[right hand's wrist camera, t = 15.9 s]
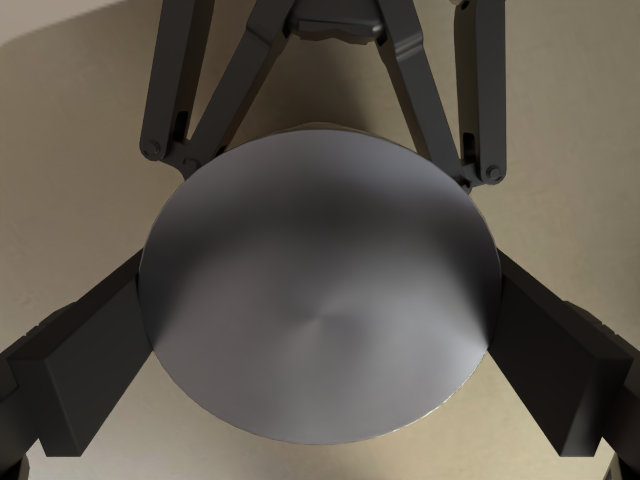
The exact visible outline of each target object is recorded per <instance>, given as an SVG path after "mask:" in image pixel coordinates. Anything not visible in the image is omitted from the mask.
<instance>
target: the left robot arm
mask: <svg viewBox="0 0 640 480" xmlns="http://www.w3.org/2000/svg"><path fill="white" fill-rule="evenodd" d="M449 1H450V2H451V3H452V4H454V5H456V9H455V16H454V45H455V63H456V80H457V98H458V116H459V133H460V151H461V159H459V156H458V153H457V150H456V147H455V144H454V141H453V138H452V135H451V132H450V129H449V125H448V122H447V119H446V116H445V113H444V110H443V107H442V104H441V101H440V97H439V94H438V91H437V88H436V85H435V82H434V79H433V76H432V73H431V70H430V66H429V63H428V60H427V57H426V54H425V51H424V47H423V33H422V29H421V26H420V23H419V19H418V16H417V13H416V10H415V7H414V4H413V1H412V0H257V2H256V4H255V6H254V8H253V10H252V12H251V14H250V16H249V18H248V21H247V25H246V30H245V33H244V35H243V37H242V39H241V41H240V43H239V45H238V47H237V49H236V51H235V53H234V55H233V57H232V59H231V61H230V63H229V65H228V67H227V69H226V71H225V73H224V75H223V77H222V79H221V81H220V83H219V84H218V86H217V88H216V90H215V92H214V94H213V96H212V98H211V100H210V102H209V104H208V106H207V108H206V110H205V112H204V114H203V116H202V118H201V120H200V122H199V124H198V126H197V128H196V130H195V132H194V134H193V136H192V138H191V139H190V140H188V139H186V138H187V133H188V128H189V124H190V119H191V114H192V109H193V105H194V100H195V95H196V91H197V86H198V81H199V77H200V72H201V67H202V62H203V58H204V53H205V48H206V44H207V39H208V34H209V29H210V25H211V20H212V15H213V9H214V3H215V0H163V5H162V11H161V17H160V23H159V29H158V35H157V41H156V47H155V53H154V59H153V65H152V71H151V77H150V83H149V89H148V95H147V101H146V107H145V113H144V119H143V125H142V131H141V137H140V143H139V144H140V151H141V153H142V154H143V156H144V157H145V158H147V159H149V160H150V161H158V160H159V161H161V162H163V163H166V164H168V165H171V166H173V167H175V168H177V169H178V170H179V171H180V172H181V173H182V175H183V177H184V180H185V181H186V180H187V179H188V178H189V177H190V176H191V175H193V174H194V173H195V172H196V171H197V170H198V169H199V168H201V167H202V166H204V165H205V164H207V163H208V162H210V161H212V160H213V159H215V158H216V157H218V156H219V155H221V154H222V153H225V151H226V149H227V147H228V146H229V144H230V142H231V140H232V138H233V137H234V135H235V133H236V131H237V129H238V128H239V126H240V124H241V122H242V120H243V118H244V117H245V115H246V113H247V111H248V109H249V108H250V106H251V104H252V102H253V100H254V98H255V97H256V95H257V93H258V91H259V89H260V88H261V86H262V84H263V82H264V80H265V79H266V77H267V75H268V73H269V71H270V69H271V68H272V66H273V64H274V62H275V60H276V59H277V57H278V56H279V55H280V54H281V52H282V51H283V49H284V47H285V46H286V44H287V42H288V40H289V38H290V37H291V35H292V33H293V34H295V35H297V36H299V37H300V39H301V40H311V41H319V40H323V39H328V38H332V37H334V38H337V39H340V40H342V41H345V42H347V43H350V44H360V45H366V44H367V43H368V42H371V41H375V44H376V46H377V49H378V52H379V55H380V57H381V59H382V61H383V63H384V64H385V66H386V68H387V70H388V73H389V76H390V79H391V81H392V84H393V87H394V90H395V92H396V95H397V98H398V101H399V103H400V106H401V109H402V112H403V114H404V117H405V120H406V123H407V125H408V128H409V131H410V134H411V136H412V139H413V142H414V145H415V147H416V150H417V153H418V154H419V155H421V156H422V157H424V158H426V159H427V160H429V161H431V162H432V163H434V164H435V165H437V166H438V167H439V168H440V169H441V170H443V171H444V172H445V173H446V174H448V175H449V176H450V177H451V178H453V179H454V180H455V181H456V182H457V183H458V184H459V186H460V187H461V188H462V189H463V190H464V191H465V192H466V193H467V194H468V195H469V193H470V192H471V190H472V187H476V186H480V185H483V184H488V185H495V184H498V183H500V182H501V181H502V180H503V179H504V177H505V175H506V69H505V0H449Z"/></svg>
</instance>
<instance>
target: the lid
mask: <svg viewBox="0 0 640 480" xmlns="http://www.w3.org/2000/svg"><path fill="white" fill-rule="evenodd" d="M138 295H139V304H140V310H141V314H142V319H143V323H144V327H145V332H146V334H147V337H148V339H149V342H150V344H151V347H152V349H153V351H154V352H155V354H156V356H157V358H158V359H159V361H160V363H161V365H162V366H163V368H164V369H165V370H166V371H167V373H168V374H169V375H170V377H171V378H172V379H173V381H174V382H175V383H176V384H177V385H178V386H179V387H180V388H181V389H182V390H183V391H184V392H185V393H186V394H187V395H188V396H189V397H190V398H191V399H193V400H194V401H195V402H196V403H197V404H199V405H200V406H201V407H202V408H204V409H205V410H207V411H208V412H210V413H211V414H213V415H215V416H216V417H218V418H219V419H221V420H223V421H225V422H227V423H229V424H231V425H233V426H235V427H237V428H239V429H242V430H245V431H247V432H250V433H252V434H255V435H258V436H262V437H266V438H269V439H273V440H278V441H283V442H289V443H296V444H309V445H334V444H343V443H352V442H357V441H362V440H367V439H372V438H375V437H378V436H381V435H385V434H388V433H391V432H393V431H396V430H398V429H401V428H403V427H405V426H408V425H410V424H412V423H413V422H415V421H417V420H419V419H421V418H423V417H424V416H426V415H428V414H429V413H430V412H432V411H433V410H435V409H436V408H438V407H439V406H440V405H442V404H443V403H444V402H445V401H447V400H448V399H449V398H450V397H451V396H452V395H453V394H455V393H456V392H457V391H458V390H459V389H460V387H461V386H462V385H463V384H464V383H465V382H466V381H467V380H468V379H469V377H470V376H471V375H472V373H473V372H474V370H475V369H476V368H477V366H478V365H479V363H480V362H481V360H482V359H483V357H484V355H485V353H486V351H487V349H488V347H489V345H490V343H491V340H492V338H493V335H494V332H495V328H496V325H497V320H498V315H499V311H500V306H501V300H502V276H501V267H500V260H499V256H498V252H497V249H496V245H495V242H494V239H493V236H492V234H491V232H490V230H489V228H488V225H487V223H486V221H485V219H484V217H483V216H482V214H481V213H480V211H479V210H478V208H477V207H476V205H475V203H474V202H473V200H472V199H471V198H470V197H469V196H468V194H467V193H466V192H465V191H464V190H463V189H462V188H461V187H460V186H459V184H458V183H457V182H456V181H455V180H454V179H453V178H451V177H450V176H449V175H448V174H446V173H445V172H444V171H443V170H441V169H440V168H439V167H438V166H437V165H435V164H434V163H432V162H431V161H429V160H427V159H426V158H424V157H422V156H421V155H419V154H417V153H416V152H414V151H412V150H410V149H408V148H406V147H404V146H402V145H400V144H398V143H396V142H393V141H391V140H388V139H386V138H384V137H381V136H379V135H376V134H373V133H369V132H365V131H362V130H358V129H354V128H347V127H339V126H330V125H320V126H300V127H294V128H288V129H282V130H278V131H274V132H271V133H268V134H265V135H262V136H258V137H256V138H254V139H252V140H250V141H247V142H245V143H243V144H241V145H239V146H237V147H235V148H233V149H231V150H229V151H227V152H225V153H222V154H221V155H219V156H218V157H216V158H215V159H213V160H212V161H210V162H208V163H207V164H205V165H204V166H202V167H201V168H199V169H198V170H197V171H196V172H195V173H194V174H193V175H191V176H190V177H189V178H188V179H187V180H186V181H185V182H184V183H183V184H181V185H180V186H179V188H178V189H177V190H176V191H175V193H174V194H173V195H172V196H171V197H170V199H169V200H168V201H167V202H166V203H165V205H164V206H163V208H162V210H161V211H160V213H159V215H158V217H157V218H156V220H155V222H154V223H153V225H152V227H151V230H150V233H149V235H148V238H147V240H146V243H145V245H144V249H143V253H142V258H141V262H140V267H139V281H138Z"/></svg>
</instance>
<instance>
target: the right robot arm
mask: <svg viewBox="0 0 640 480" xmlns="http://www.w3.org/2000/svg"><path fill="white" fill-rule="evenodd" d="M143 249H144V248H142V249H141V250H140V251H139V252H137V253H136V254H135V255H134V256H132V257H131V258H130V259H129V260H127V261H126V262H125V263H124V264H122V265H121V266H120V267H119V268H117V269H116V270H115V271H114V272H113V273H111V274H110V275H109V276H108V277H106V278H105V279H104V280H103V281H101V282H100V283H99V284H98V285H96V286H95V287H94V288H93V289H91V290H90V291H89V292H88V293H86V294H85V295H84V296H83V297H81V298H80V299H79V300H78V301H77V302H73V303H71V304H69V305H67V306H65V307H63V308H61V309H59V310H57V311H55V312H53V313H52V314H51V315H49V316H48V317H47V318H45V319H44V320H43V321H41V322H40V323H39V326H35V327H34V328H32V329H31V330H30V331H29V332H27V333H26V336H22V337H21V338H20V339H18V340H17V341H16V342H14V343H13V344H12V345H11V346H9V347H8V348H7V349H5V350H4V351H3V352H2V353H0V480H28V475H29V469H30V467H29V461H28V458H27V456H26V454H25V453H26V452H27V451H28V450H29V448H30V447H31V446H32V445H33V444H34V443H35V441H36V440H37V439H38V438H39V440H40V442H41V445H42V447H43V449H44V452H45V454H46V457H81V455H82V454H83V452H84V451H85V449H86V448H87V446H88V445H89V443H90V442H91V440H92V439H93V437H94V436H95V435H96V433H97V432H98V430H99V429H100V427H101V426H102V424H103V423H104V421H105V420H106V418H107V417H108V415H109V414H110V413H111V411H112V410H113V408H114V407H115V405H116V404H117V402H118V401H119V399H120V398H121V396H122V395H123V393H124V392H125V391H126V389H127V388H128V386H129V385H130V383H131V382H132V380H133V379H134V377H135V376H136V374H137V373H138V371H139V370H140V369H141V367H142V366H143V364H144V363H145V361H146V360H147V358H148V357H149V355H150V354H151V352H152V351H153V349H152V347H151V344H150V342H149V339H148V337H147V334H146V332H145V327H144V323H143V319H142V314H141V310H140V304H139V295H138V281H139V267H140V262H141V258H142V253H143ZM496 249H497V252H498V256H499V260H500V267H501V276H502V300H501V306H500V311H499V315H498V320H497V325H496V328H495V332H494V335H493V338H492V340H491V343H490V345H489V347H488V349H487V351H488V352H489V354H490V355H491V356H492V358H493V359H494V361H495V362H496V364H497V365H498V367H499V368H500V370H501V371H502V373H503V374H504V376H505V377H506V378H507V380H508V381H509V383H510V384H511V386H512V387H513V389H514V390H515V392H516V393H517V395H518V396H519V398H520V399H521V400H522V402H523V403H524V405H525V406H526V408H527V409H528V411H529V412H530V414H531V415H532V417H533V418H534V420H535V421H536V422H537V424H538V425H539V427H540V428H541V430H542V431H543V433H544V434H545V436H546V437H547V439H548V440H549V442H550V443H551V444H552V446H553V447H554V449H555V450H556V452H557V453H558V455H559V456H560V457H594V455H595V453H596V450H597V448H598V445H599V443H600V440H601V438H602V437H603V438H604V439H605V440H606V441H607V443H608V444H609V445H610V446H611V447H612V448H613V450H614V451H615V454H614V456H613V458H612V460H611V463H610V465H609V467H608V469H607V472H606V474H605V476H604V478H603V480H640V351H639V350H637V349H636V348H635V347H633V346H632V345H631V344H629V343H628V342H627V341H626V340H624V339H623V338H622V337H620V336H619V335H615V333H614V331H613V330H611V329H610V328H609V327H607V326H606V325H602V322H601V321H600V320H598V319H597V318H596V317H594V316H593V315H592V314H591V313H589V312H588V311H586V310H584V309H582V308H580V307H578V306H576V305H574V304H572V303H570V302H568V301H562V300H561V299H560V298H559V297H558V296H556V295H555V294H554V293H553V292H551V291H550V290H549V289H548V288H546V287H545V286H544V285H543V284H541V283H540V282H539V281H538V280H536V279H535V278H534V277H533V276H531V275H530V274H529V273H528V272H526V271H525V270H524V269H523V268H522V267H520V266H519V265H518V264H517V263H515V262H514V261H513V260H512V259H510V258H509V257H508V256H507V255H505V254H504V253H503V252H502V251H500V250H499V249H498V248H497V247H496Z"/></svg>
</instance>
